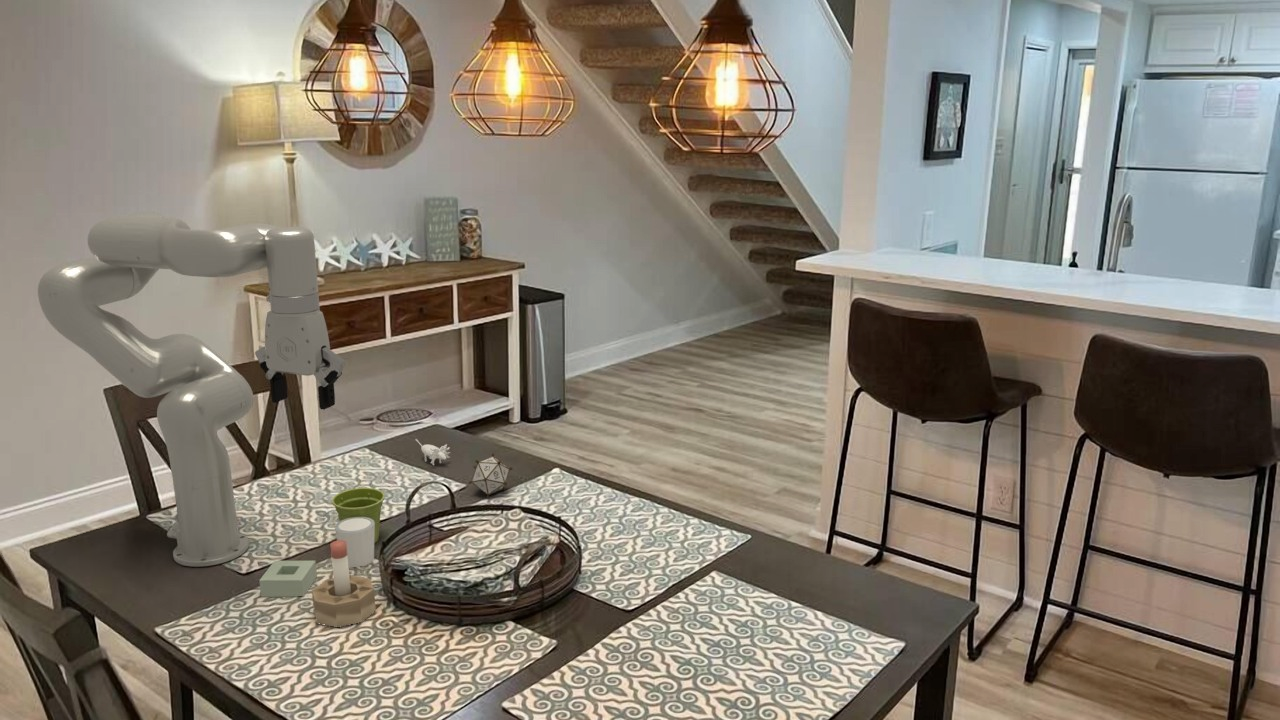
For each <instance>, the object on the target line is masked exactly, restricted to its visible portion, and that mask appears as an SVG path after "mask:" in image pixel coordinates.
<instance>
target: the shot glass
mask: <svg viewBox="0 0 1280 720" xmlns="http://www.w3.org/2000/svg"><path fill="white" fill-rule="evenodd" d="M333 527H334V531H335V537H336V541H338V540H343V541H346V545H347V556H348V566H349V568H350V567H357V568H361V567H360V566H363V567H365V566H368V565H370V564H371V563H373V561H374V560H375V543H374V536H375V522H374V520H372V519H371V518H367V517H352V518H347V519H344V520H341V521H340V520H339V521H338V522H337V523H336V524H335V525H334V526H333ZM369 563H370V564H369ZM367 564H368V565H367ZM364 565H365V566H364Z"/></svg>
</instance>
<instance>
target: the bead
mask: <svg viewBox="0 0 1280 720" xmlns="http://www.w3.org/2000/svg"><path fill="white" fill-rule="evenodd" d="M349 576H350V587H351V595H346V596H341V597H337V596H335V587H334V577H333V578H328V579H326V580H323V582H321V583H320V584H318V585H317V586H315V587H314V588H313V589H312V590H311V593H312V594H311V595H312V596H311V597H312V604H313V605H312V606H313V614H314V617H316V618H315V621H316V620H317V621H316V624H317V623H320V624H325V625H330V626H334V627H333V628H335V627H340V626H344V627H347V626H346V625H349V626H352V625H351V624H353V625H355V624H354V623H358V624H360V623H359V622H362V623H363V622H364V621H365V620H364V619H366V618H367V617H368V618H370V615H371V614H372V615H373V614H374V613H375V612H376V611H377V610H376V608H377V607H376V598H375V587H374V585H373V583H372V581H371V579H370V578H369V577H364V576H357V575H351V574H349ZM374 611H375V612H374ZM372 615H371V616H372ZM368 618H367V619H368ZM367 619H366V620H367ZM363 620H364V621H363ZM320 624H319V625H320ZM325 625H324V626H325ZM330 626H329V627H330ZM340 628H341V627H340Z"/></svg>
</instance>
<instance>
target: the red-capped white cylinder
mask: <svg viewBox="0 0 1280 720" xmlns="http://www.w3.org/2000/svg"><path fill="white" fill-rule="evenodd" d="M329 544H330V545H329V547H330V556H331V564H332V576H333V578H334V587H335V596H337V597H341V596H346V595H351V587H350V576H349V575H350V569H349V568H350V567H349V566H348V556H347V545H346V541H343V540H338V541H337V540H335V541H332V542H331V543H329Z"/></svg>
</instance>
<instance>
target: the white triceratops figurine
mask: <svg viewBox="0 0 1280 720" xmlns="http://www.w3.org/2000/svg"><path fill="white" fill-rule="evenodd" d="M415 441H416V442H417V443H418V445H420V447H421V448H420V449H421V451H422V453H423V454H424V462H427V461H428V459H427V456H428V458H429V459H430V460H431V462H430V464H432V466H435V460H436V459H438V460H439V464H442V460H447V458H449V459H450V456H449V454H451V451H449V450H450V447H447V446H448V444H447V443H445V445H442V446H441V447H438V446H436V445H433V444H423V445H422V443H421V442H419V440H418V438H415Z"/></svg>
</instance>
